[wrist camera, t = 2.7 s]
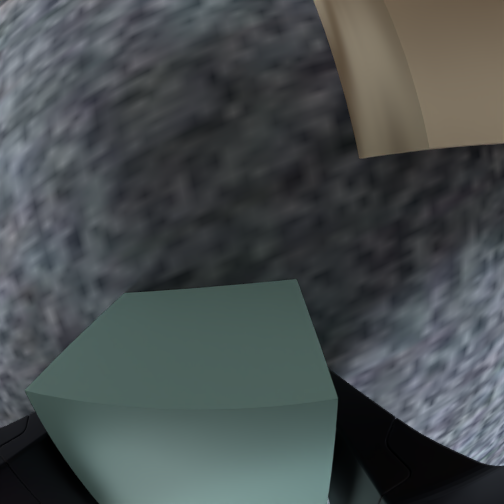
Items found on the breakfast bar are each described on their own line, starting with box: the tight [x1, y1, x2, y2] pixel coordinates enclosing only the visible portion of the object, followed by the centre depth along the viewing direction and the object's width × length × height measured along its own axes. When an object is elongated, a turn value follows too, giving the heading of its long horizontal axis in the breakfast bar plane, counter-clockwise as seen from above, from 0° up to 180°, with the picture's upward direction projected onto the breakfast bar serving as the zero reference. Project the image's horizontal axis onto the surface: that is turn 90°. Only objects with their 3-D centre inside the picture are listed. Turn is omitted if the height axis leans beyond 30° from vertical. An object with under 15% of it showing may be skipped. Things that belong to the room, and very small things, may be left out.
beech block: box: [313, 0, 504, 159], centre depth 5 cm, size 8×8×4 cm
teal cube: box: [24, 279, 338, 504], centre depth 7 cm, size 5×5×5 cm
